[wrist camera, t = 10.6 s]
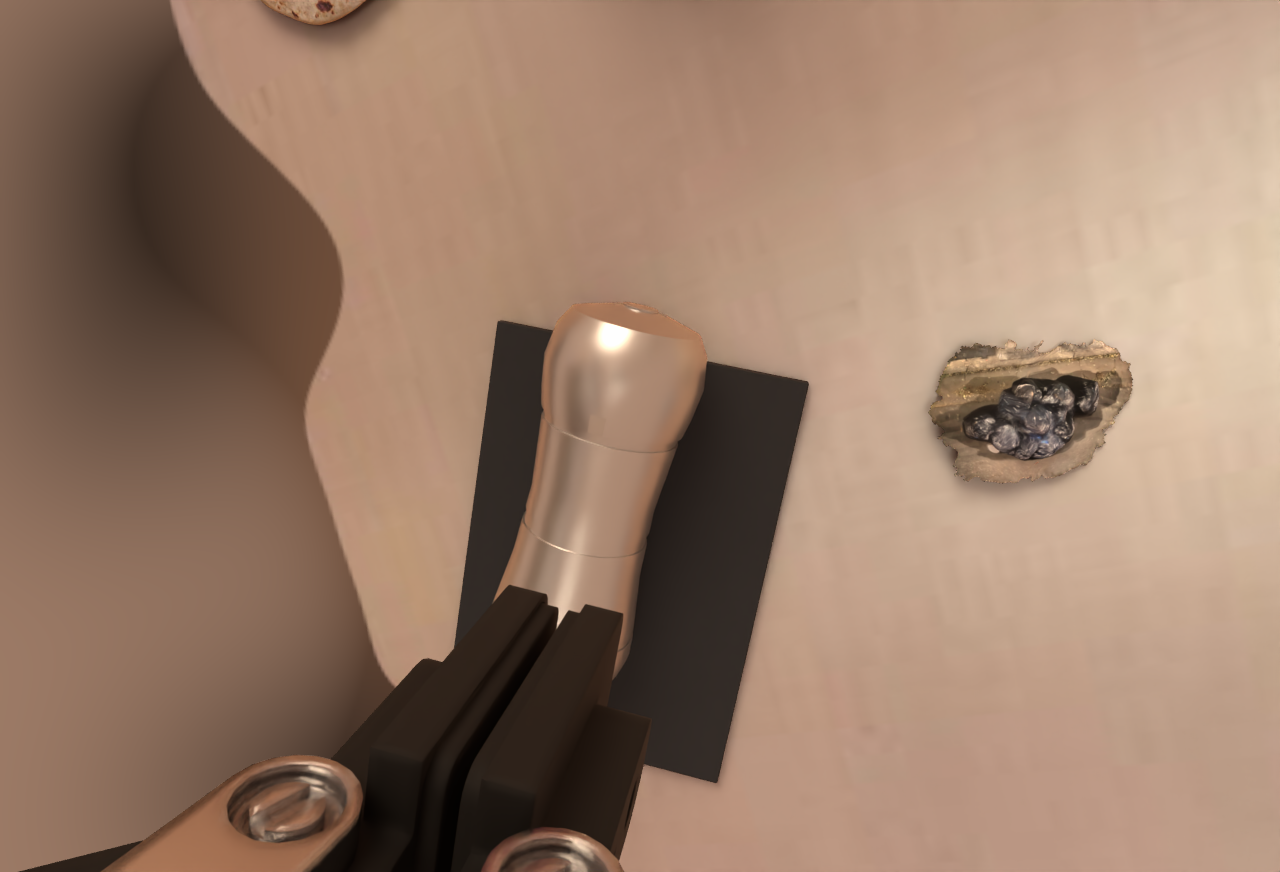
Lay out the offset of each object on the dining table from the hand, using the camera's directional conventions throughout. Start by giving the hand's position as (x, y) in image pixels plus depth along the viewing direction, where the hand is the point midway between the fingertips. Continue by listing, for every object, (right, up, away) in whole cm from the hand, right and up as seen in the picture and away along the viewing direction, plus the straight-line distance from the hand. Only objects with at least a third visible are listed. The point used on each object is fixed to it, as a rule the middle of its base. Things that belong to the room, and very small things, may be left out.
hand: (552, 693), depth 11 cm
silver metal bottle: (+1, +9, +21) cm, 22 cm away
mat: (0, -2, +27) cm, 27 cm away
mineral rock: (+17, +5, +23) cm, 29 cm away
